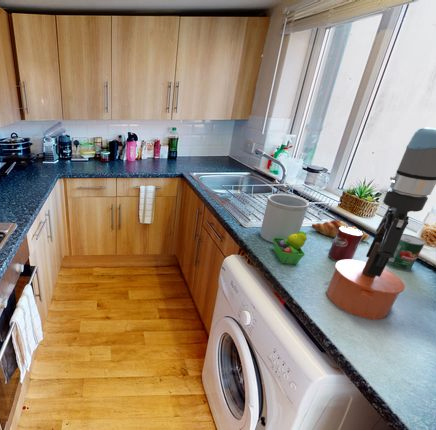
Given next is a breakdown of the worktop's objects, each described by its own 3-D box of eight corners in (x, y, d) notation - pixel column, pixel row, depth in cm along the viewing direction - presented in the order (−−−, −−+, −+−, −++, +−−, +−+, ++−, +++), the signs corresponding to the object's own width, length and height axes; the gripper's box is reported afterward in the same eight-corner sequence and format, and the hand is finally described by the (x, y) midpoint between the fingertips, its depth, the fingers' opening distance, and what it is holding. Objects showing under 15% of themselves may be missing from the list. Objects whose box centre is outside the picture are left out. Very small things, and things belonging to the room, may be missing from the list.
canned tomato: (389, 256, 110) (402, 231, 106) (415, 268, 104) (430, 241, 99) (377, 261, 107) (390, 235, 103) (403, 272, 101) (417, 246, 96)
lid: (399, 275, 84) (417, 242, 80) (406, 304, 73) (427, 268, 68) (335, 256, 93) (348, 226, 88) (332, 280, 82) (346, 246, 77)
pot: (384, 294, 90) (397, 269, 86) (389, 334, 76) (405, 306, 72) (328, 276, 98) (338, 253, 94) (324, 309, 84) (335, 283, 80)
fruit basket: (269, 248, 114) (276, 223, 110) (293, 250, 113) (301, 225, 108) (278, 264, 104) (287, 237, 99) (305, 267, 103) (315, 240, 98)
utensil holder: (252, 236, 123) (261, 198, 116) (266, 226, 132) (276, 190, 125) (289, 250, 113) (302, 210, 106) (301, 238, 122) (314, 200, 115)
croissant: (363, 245, 125) (367, 227, 125) (374, 245, 115) (378, 226, 115) (307, 233, 132) (311, 216, 132) (313, 233, 123) (317, 214, 123)
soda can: (332, 262, 106) (344, 234, 101) (324, 252, 112) (334, 225, 107) (354, 265, 104) (367, 236, 99) (345, 255, 111) (357, 227, 106)
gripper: (385, 178, 82) (356, 245, 91) (392, 201, 66) (356, 279, 75) (421, 184, 78) (386, 253, 87) (438, 209, 62) (393, 291, 71)
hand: (372, 265), depth 81 cm, fingers open, 10 cm apart
